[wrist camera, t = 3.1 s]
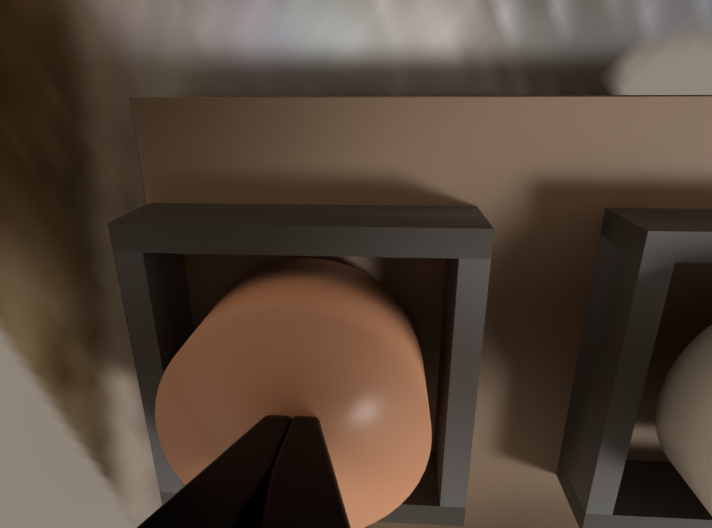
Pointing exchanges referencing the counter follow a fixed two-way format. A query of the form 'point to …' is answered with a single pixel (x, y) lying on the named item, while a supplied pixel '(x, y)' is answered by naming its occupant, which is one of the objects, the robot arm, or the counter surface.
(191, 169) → the button board
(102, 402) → the counter surface
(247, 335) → the terracotta button
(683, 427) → the cream button
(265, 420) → the robot arm
